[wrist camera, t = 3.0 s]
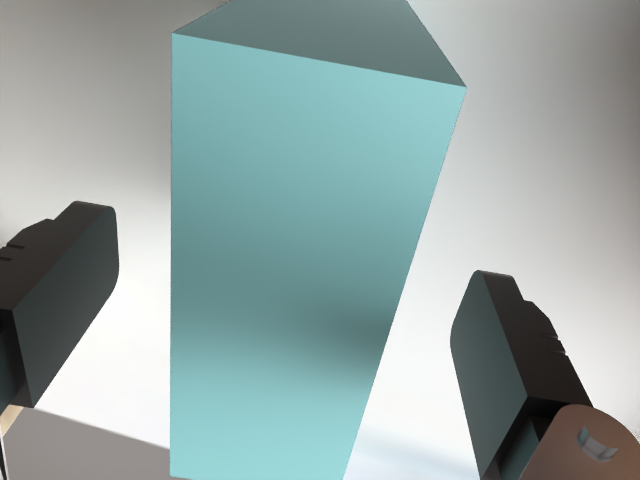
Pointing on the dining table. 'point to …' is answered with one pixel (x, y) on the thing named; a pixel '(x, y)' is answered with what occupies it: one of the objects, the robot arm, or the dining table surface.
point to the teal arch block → (294, 223)
